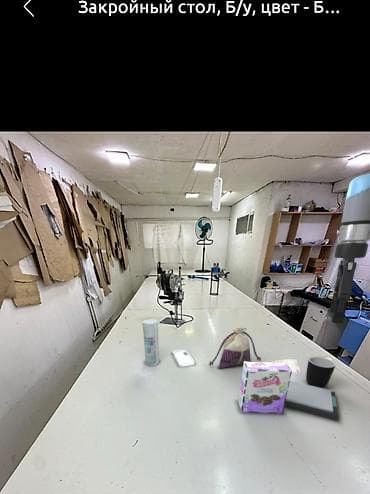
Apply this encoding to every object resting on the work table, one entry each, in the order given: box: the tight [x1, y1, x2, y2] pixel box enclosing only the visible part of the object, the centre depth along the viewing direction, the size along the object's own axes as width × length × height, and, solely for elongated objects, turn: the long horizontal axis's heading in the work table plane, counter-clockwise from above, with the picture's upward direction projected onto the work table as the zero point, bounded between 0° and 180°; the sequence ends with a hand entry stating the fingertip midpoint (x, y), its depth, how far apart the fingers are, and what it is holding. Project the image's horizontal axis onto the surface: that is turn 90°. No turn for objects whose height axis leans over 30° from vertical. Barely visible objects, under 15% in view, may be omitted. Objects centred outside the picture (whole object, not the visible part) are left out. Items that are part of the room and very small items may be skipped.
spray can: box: [142, 318, 160, 366], centre depth 106 cm, size 6×6×20 cm
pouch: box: [208, 327, 262, 369], centre depth 104 cm, size 25×8×19 cm, turn 110°
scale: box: [284, 380, 339, 422], centre depth 83 cm, size 16×15×3 cm
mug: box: [305, 356, 336, 389], centre depth 93 cm, size 12×9×10 cm
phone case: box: [172, 349, 196, 368], centre depth 113 cm, size 7×1×15 cm
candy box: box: [237, 361, 293, 414], centre depth 77 cm, size 14×6×16 cm, turn 88°
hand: (335, 317), depth 74 cm, fingers open, 13 cm apart
